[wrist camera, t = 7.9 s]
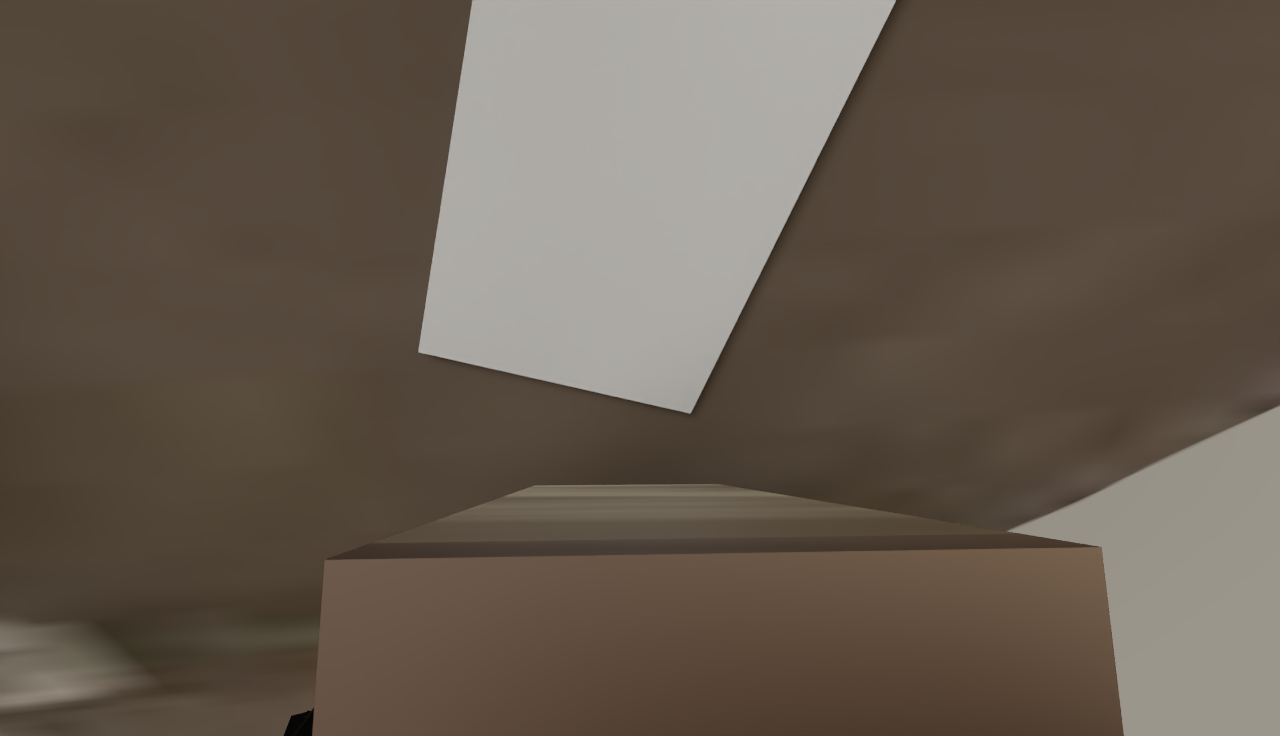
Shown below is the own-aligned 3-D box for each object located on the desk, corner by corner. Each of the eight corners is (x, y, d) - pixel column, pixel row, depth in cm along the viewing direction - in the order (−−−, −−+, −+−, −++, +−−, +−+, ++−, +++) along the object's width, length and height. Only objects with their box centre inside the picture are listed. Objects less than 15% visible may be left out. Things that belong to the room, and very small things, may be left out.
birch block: (721, 617, 16) (1175, 1173, 4) (531, 622, 16) (273, 1259, 3) (718, 484, 17) (1100, 547, 4) (534, 485, 17) (324, 560, 4)
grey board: (689, 405, 24) (690, 413, 23) (421, 344, 21) (418, 352, 21) (929, -85, 15) (938, -85, 14) (519, -280, 13) (516, -286, 12)
